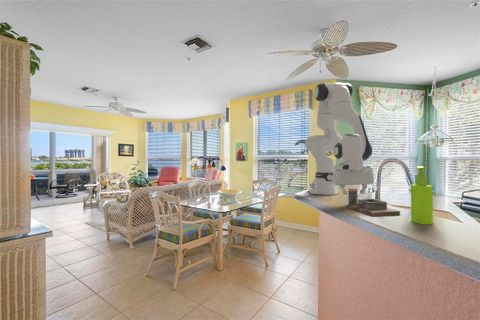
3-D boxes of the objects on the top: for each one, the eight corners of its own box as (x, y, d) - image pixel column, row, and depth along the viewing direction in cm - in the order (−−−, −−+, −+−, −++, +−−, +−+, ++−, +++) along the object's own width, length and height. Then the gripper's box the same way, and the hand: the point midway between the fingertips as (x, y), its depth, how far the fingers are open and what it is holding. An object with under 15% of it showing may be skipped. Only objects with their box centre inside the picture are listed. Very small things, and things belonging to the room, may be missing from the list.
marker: (346, 204, 108) (346, 188, 108) (354, 203, 108) (353, 188, 108) (351, 205, 104) (351, 189, 104) (359, 205, 104) (359, 189, 104)
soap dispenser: (409, 222, 75) (409, 166, 76) (412, 218, 80) (411, 165, 80) (432, 226, 71) (431, 166, 71) (433, 221, 76) (432, 165, 76)
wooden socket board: (347, 207, 100) (347, 197, 100) (371, 206, 102) (371, 197, 102) (372, 216, 85) (372, 204, 85) (400, 214, 86) (399, 203, 86)
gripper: (367, 165, 110) (368, 192, 110) (330, 166, 108) (331, 193, 107) (376, 165, 104) (377, 194, 104) (337, 166, 102) (338, 195, 101)
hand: (353, 194), depth 106 cm, fingers open, 8 cm apart
